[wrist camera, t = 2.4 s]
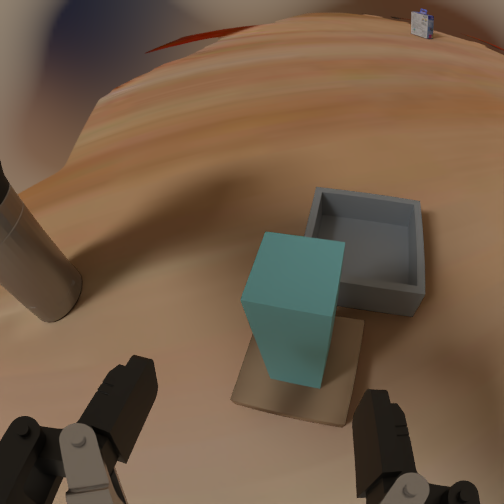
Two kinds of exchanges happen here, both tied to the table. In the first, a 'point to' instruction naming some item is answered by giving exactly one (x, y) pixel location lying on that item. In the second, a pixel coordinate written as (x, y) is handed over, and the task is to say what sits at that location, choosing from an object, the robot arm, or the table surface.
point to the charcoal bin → (373, 248)
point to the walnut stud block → (303, 397)
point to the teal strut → (294, 304)
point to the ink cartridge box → (422, 24)
